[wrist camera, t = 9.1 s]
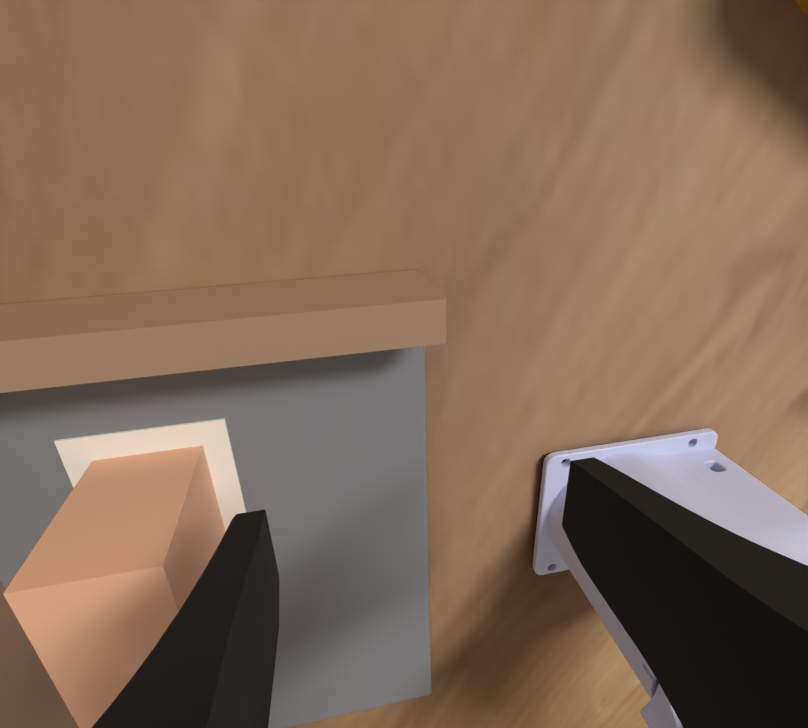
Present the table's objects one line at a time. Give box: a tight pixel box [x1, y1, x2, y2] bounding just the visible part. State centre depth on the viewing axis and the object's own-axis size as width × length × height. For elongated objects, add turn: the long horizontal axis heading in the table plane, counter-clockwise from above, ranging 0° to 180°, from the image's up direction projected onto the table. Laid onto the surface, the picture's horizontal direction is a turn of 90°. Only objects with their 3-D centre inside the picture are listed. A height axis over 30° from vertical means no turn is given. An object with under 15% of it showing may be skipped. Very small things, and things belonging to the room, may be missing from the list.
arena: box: [0, 269, 446, 728], centre depth 20 cm, size 20×26×4 cm
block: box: [3, 445, 225, 728], centre depth 17 cm, size 7×4×6 cm, turn 2°
